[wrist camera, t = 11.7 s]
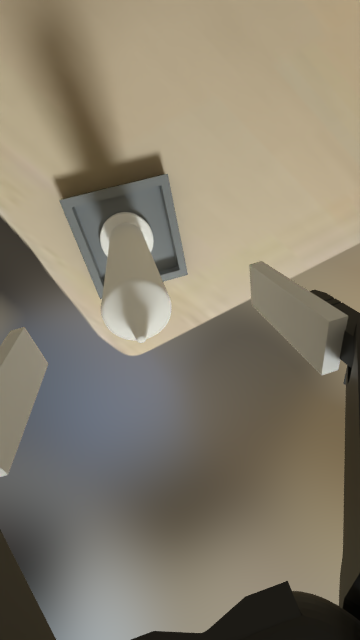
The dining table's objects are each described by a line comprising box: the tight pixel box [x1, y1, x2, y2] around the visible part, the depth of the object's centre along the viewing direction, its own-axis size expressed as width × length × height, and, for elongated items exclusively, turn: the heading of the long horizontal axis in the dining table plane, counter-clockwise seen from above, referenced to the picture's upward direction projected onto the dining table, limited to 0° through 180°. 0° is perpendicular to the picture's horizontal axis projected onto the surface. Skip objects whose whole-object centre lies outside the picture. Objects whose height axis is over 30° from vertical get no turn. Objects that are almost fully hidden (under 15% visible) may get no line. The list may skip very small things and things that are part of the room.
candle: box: [100, 212, 171, 343], centre depth 24 cm, size 7×7×25 cm
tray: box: [59, 174, 188, 299], centre depth 34 cm, size 13×13×2 cm
